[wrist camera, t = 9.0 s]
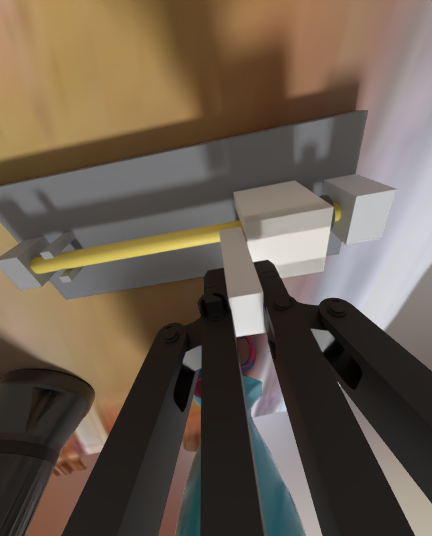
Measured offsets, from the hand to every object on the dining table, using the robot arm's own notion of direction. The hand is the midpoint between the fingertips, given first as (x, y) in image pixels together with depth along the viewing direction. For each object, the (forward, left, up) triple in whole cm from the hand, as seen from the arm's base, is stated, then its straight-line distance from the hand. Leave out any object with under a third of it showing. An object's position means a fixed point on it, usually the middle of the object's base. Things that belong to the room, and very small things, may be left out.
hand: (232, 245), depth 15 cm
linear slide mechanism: (-4, 0, -6) cm, 8 cm away
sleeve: (+3, 0, -5) cm, 6 cm away
